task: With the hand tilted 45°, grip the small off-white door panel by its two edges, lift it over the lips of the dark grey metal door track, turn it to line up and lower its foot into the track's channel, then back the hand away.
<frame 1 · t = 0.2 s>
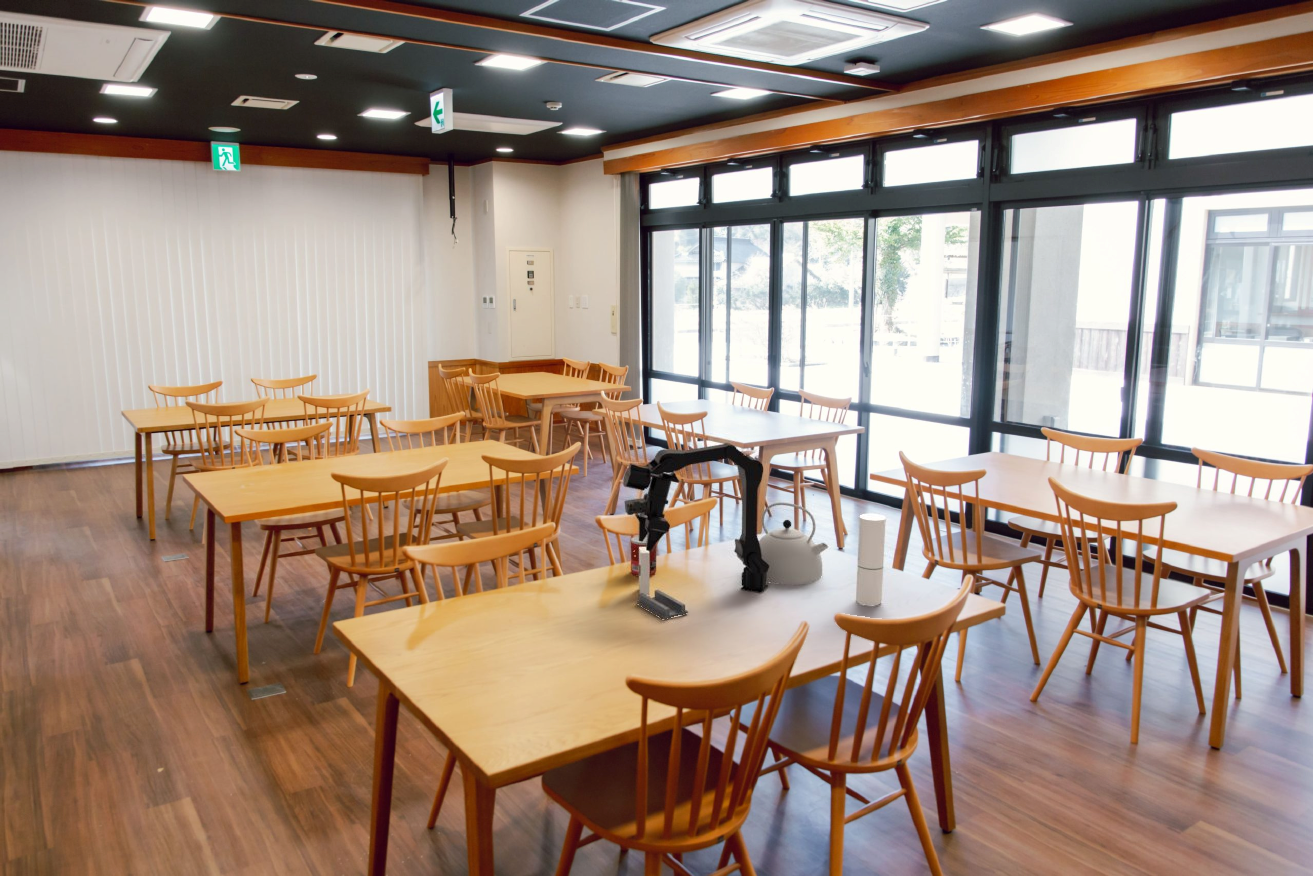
hand: (644, 545, 256), 16 cm above the table, tool pointing down, fingers open, 9 cm apart
bottom track: (661, 609, 250), on the table
door panel: (644, 592, 263), on the table
kettle: (789, 574, 281), on the table
cylindrical container: (868, 602, 256), on the table
canned food: (643, 573, 281), on the table
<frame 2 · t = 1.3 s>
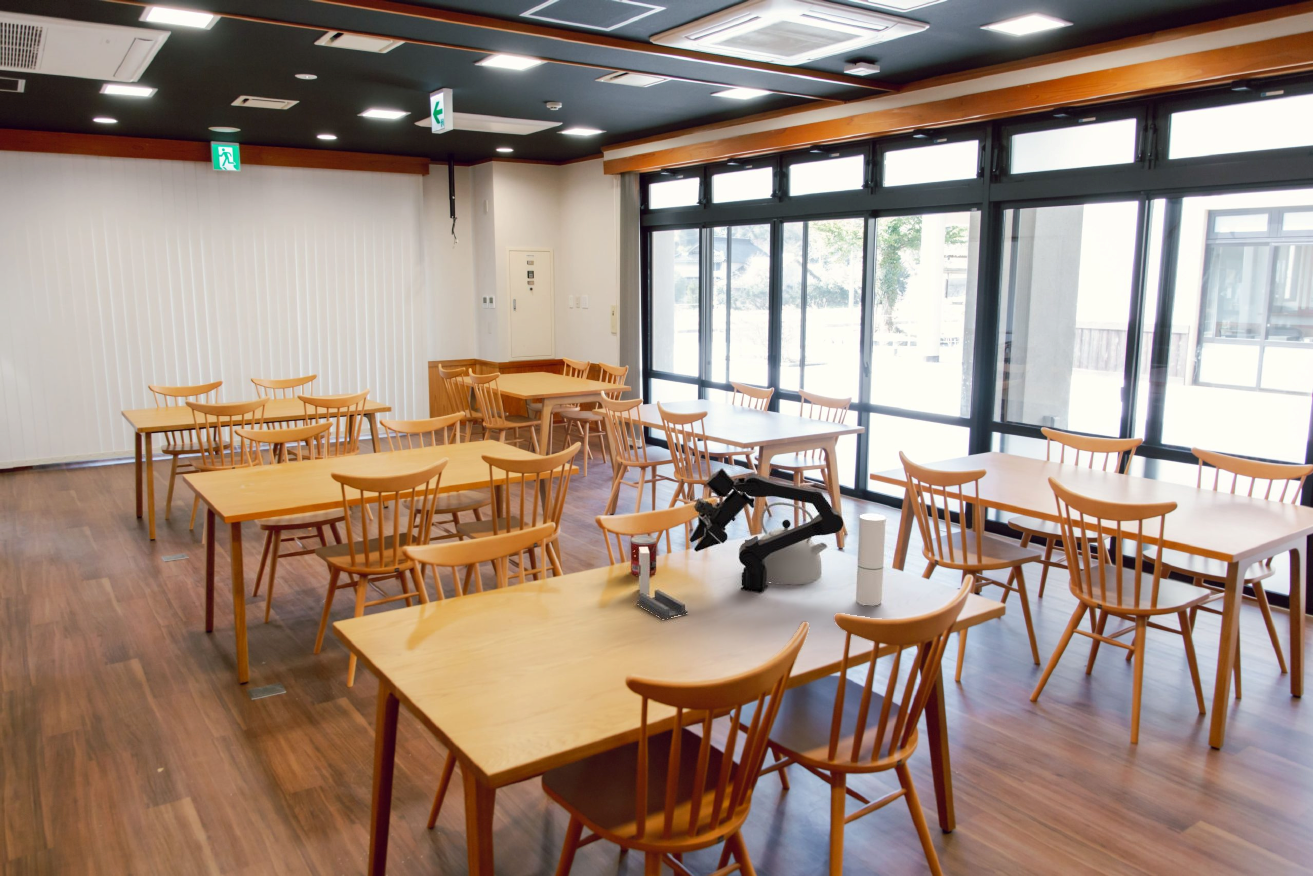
hand: (692, 545, 264), 13 cm above the table, tool tilted 45°, fingers open, 9 cm apart
nothing on the table moved.
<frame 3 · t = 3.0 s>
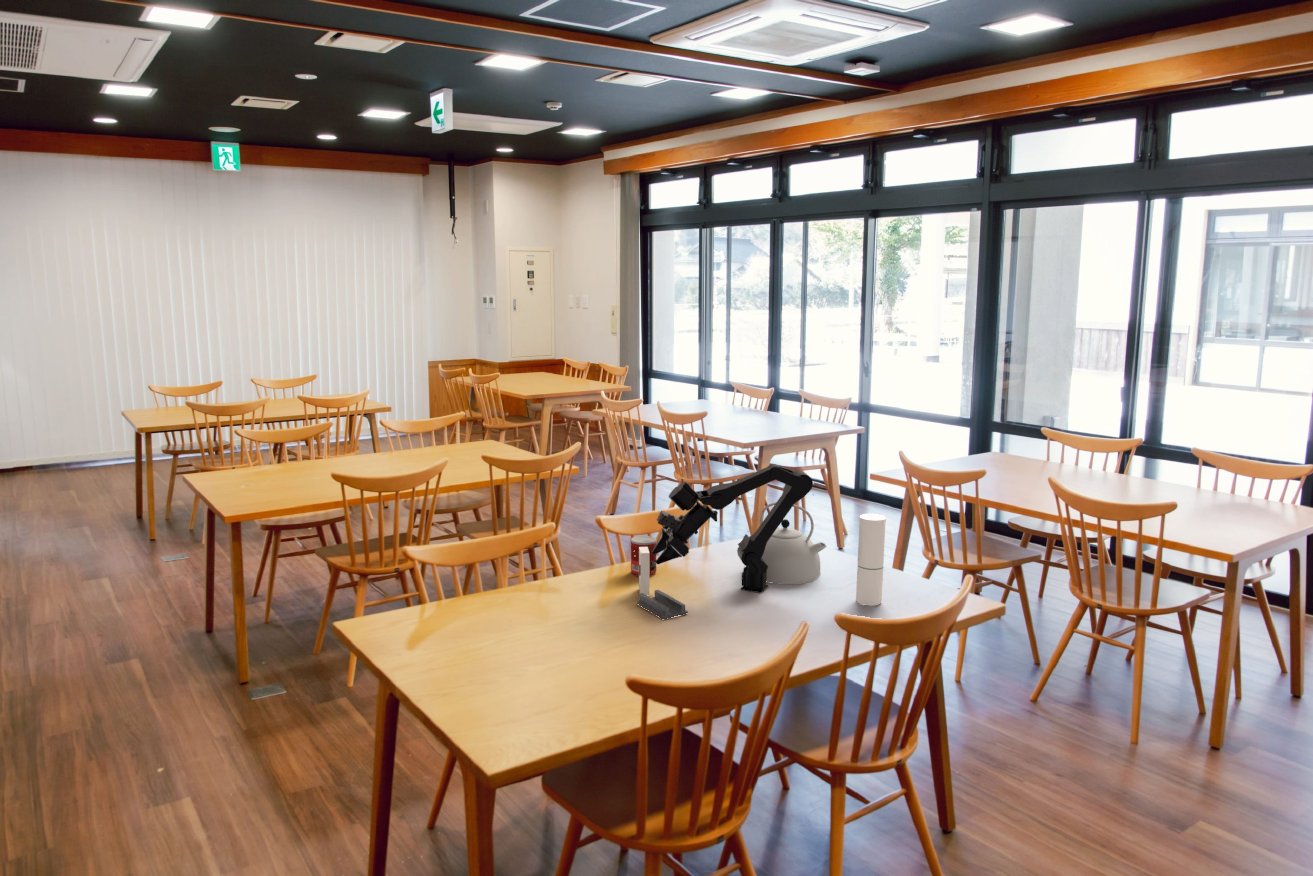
hand: (654, 558, 262), 10 cm above the table, tool tilted 45°, fingers open, 9 cm apart
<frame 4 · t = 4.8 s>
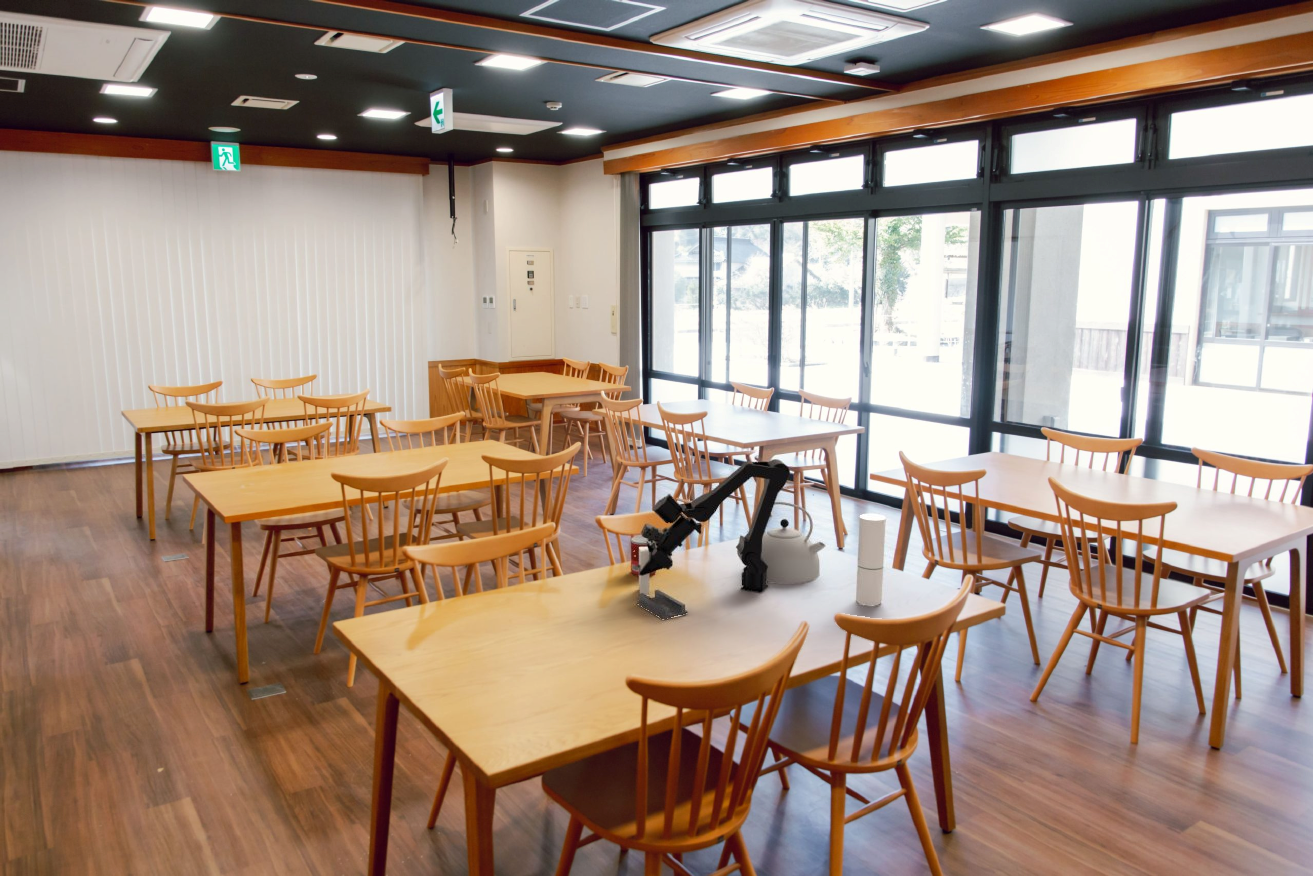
hand: (639, 571, 262), 7 cm above the table, tool tilted 45°, fingers closed on door panel, 6 cm apart
door panel: (644, 592, 263), on the table, touching gripper
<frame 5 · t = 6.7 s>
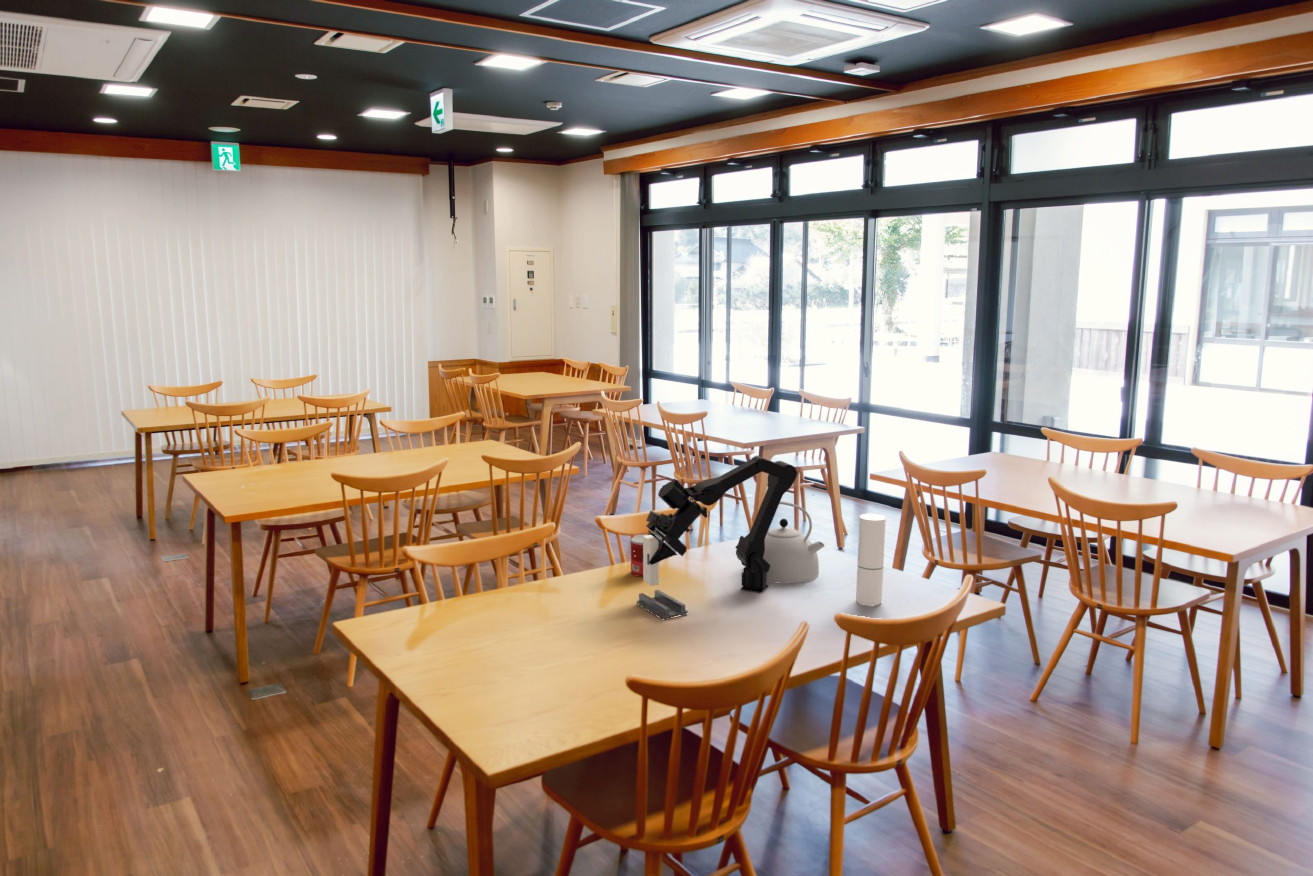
hand: (646, 560, 253), 12 cm above the table, tool tilted 45°, fingers closed on door panel, 6 cm apart
door panel: (650, 582, 255), point 6 cm above the table, touching gripper
when the fingers open (8 cm above the table, at t = 8.8 s): door panel stays where it is, resting on bottom track.
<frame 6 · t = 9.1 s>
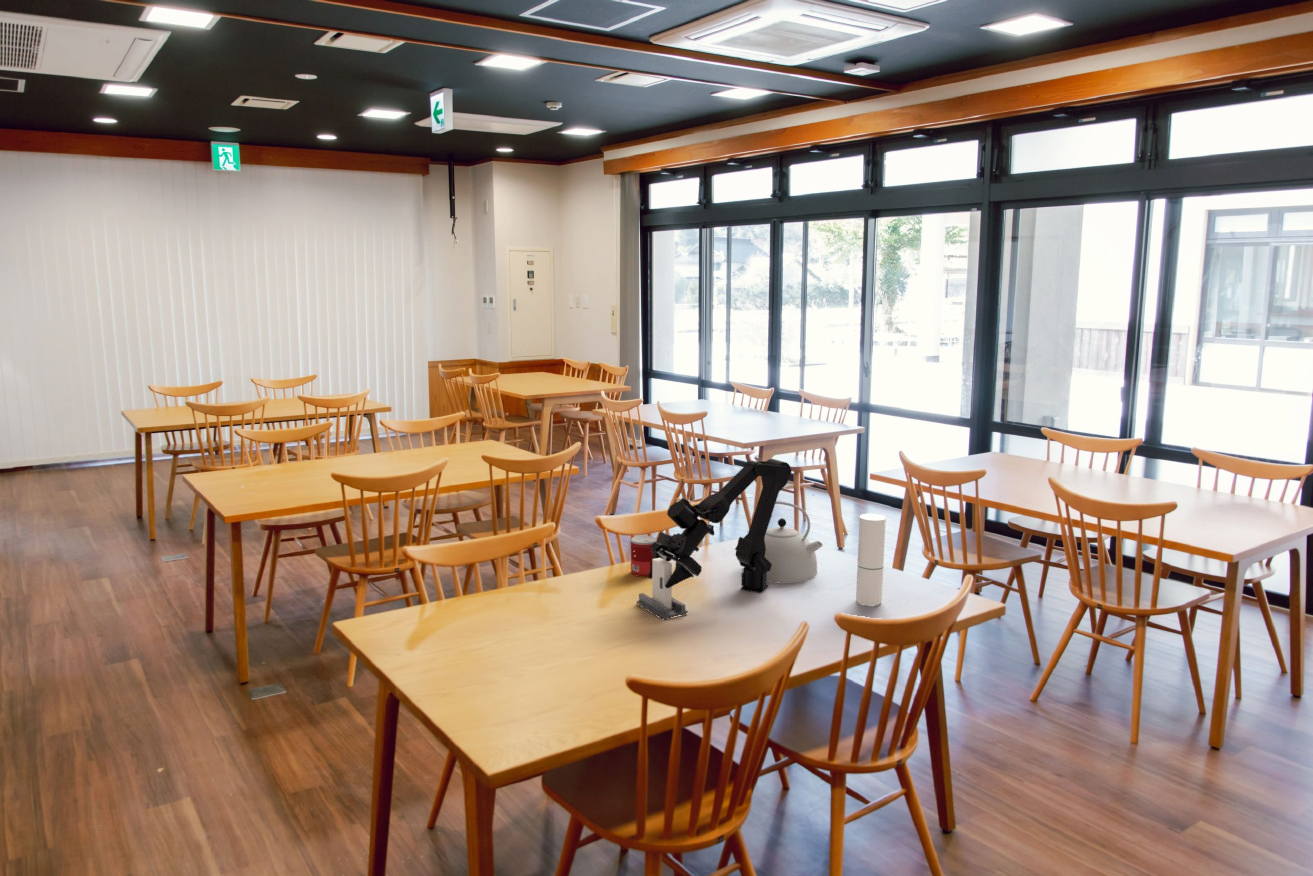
hand: (657, 582, 248), 8 cm above the table, tool tilted 45°, fingers open, 9 cm apart
door panel: (661, 606, 250), point 1 cm above the table, touching bottom track
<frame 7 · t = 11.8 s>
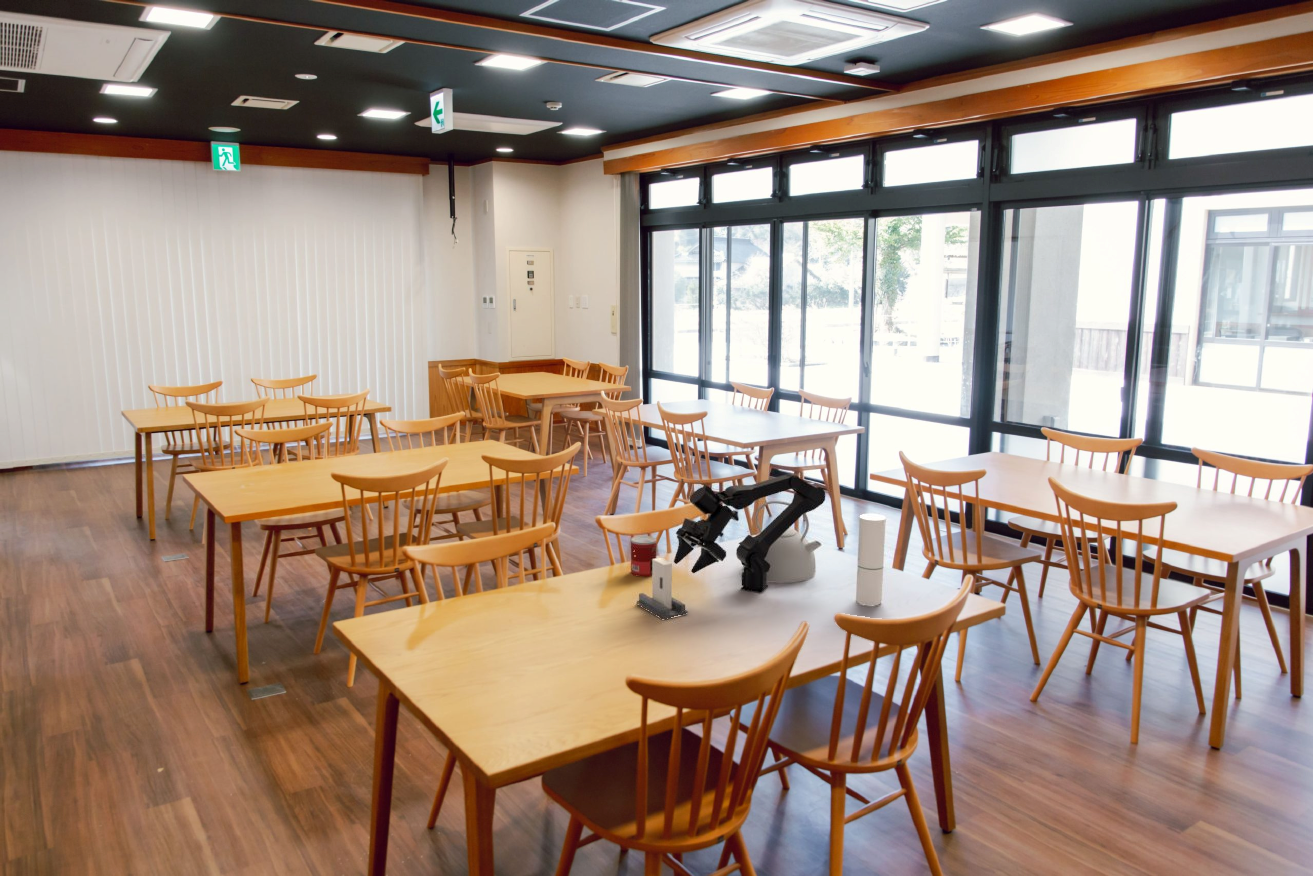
hand: (683, 567, 255), 10 cm above the table, tool tilted 45°, fingers open, 9 cm apart
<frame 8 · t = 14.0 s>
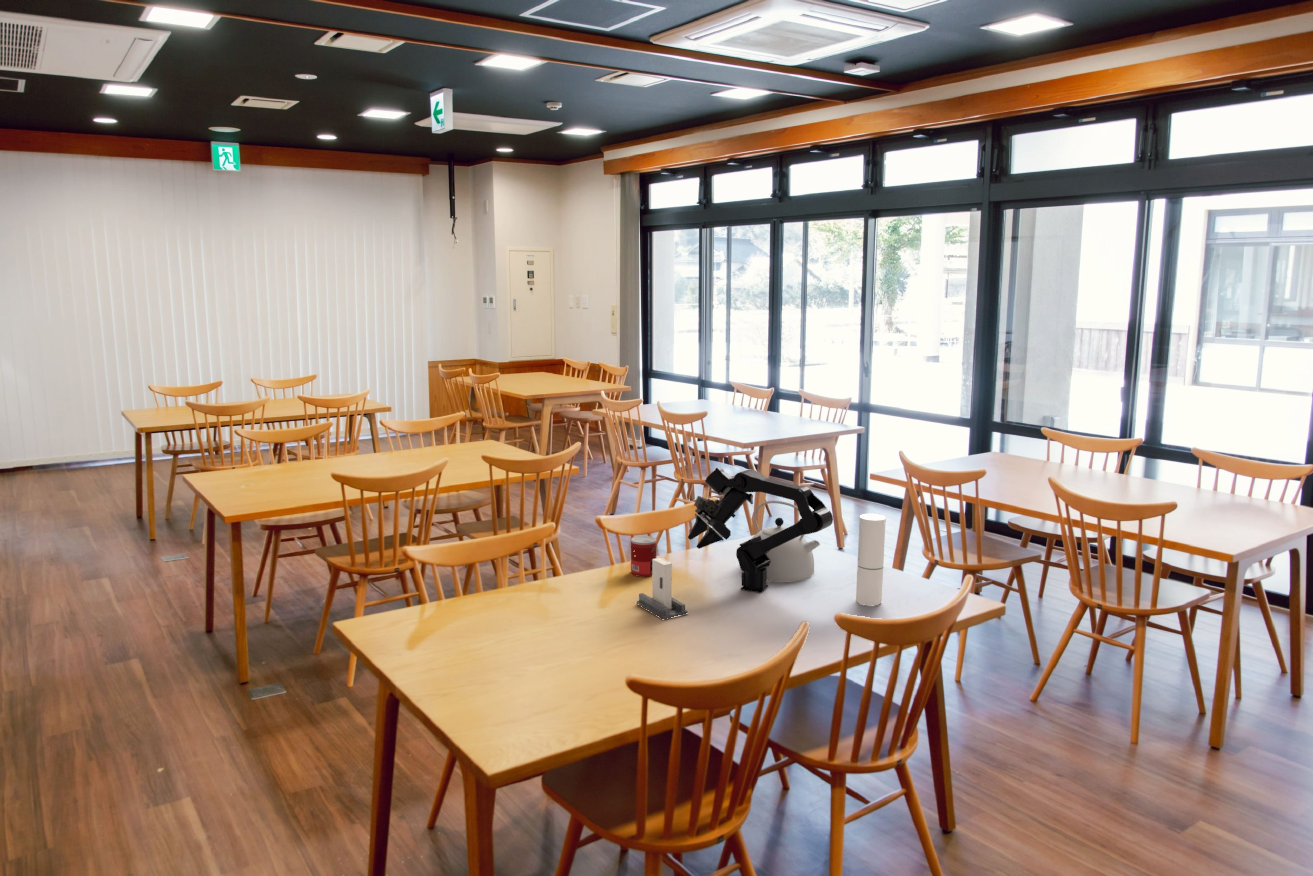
hand: (693, 543, 266), 14 cm above the table, tool tilted 45°, fingers open, 9 cm apart
at the end: door panel inside the target area on the bottom track (0.0 cm from its centre), point 1.0 cm above the bottom track's base; door panel tilted 0°; the gripper is holding nothing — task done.
